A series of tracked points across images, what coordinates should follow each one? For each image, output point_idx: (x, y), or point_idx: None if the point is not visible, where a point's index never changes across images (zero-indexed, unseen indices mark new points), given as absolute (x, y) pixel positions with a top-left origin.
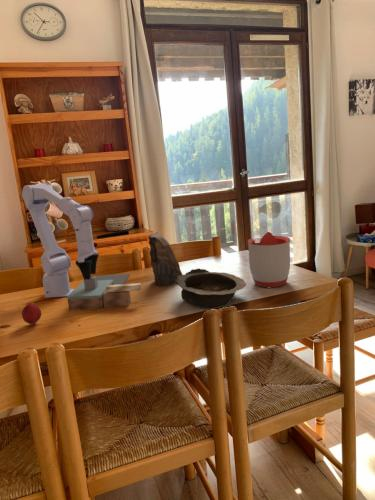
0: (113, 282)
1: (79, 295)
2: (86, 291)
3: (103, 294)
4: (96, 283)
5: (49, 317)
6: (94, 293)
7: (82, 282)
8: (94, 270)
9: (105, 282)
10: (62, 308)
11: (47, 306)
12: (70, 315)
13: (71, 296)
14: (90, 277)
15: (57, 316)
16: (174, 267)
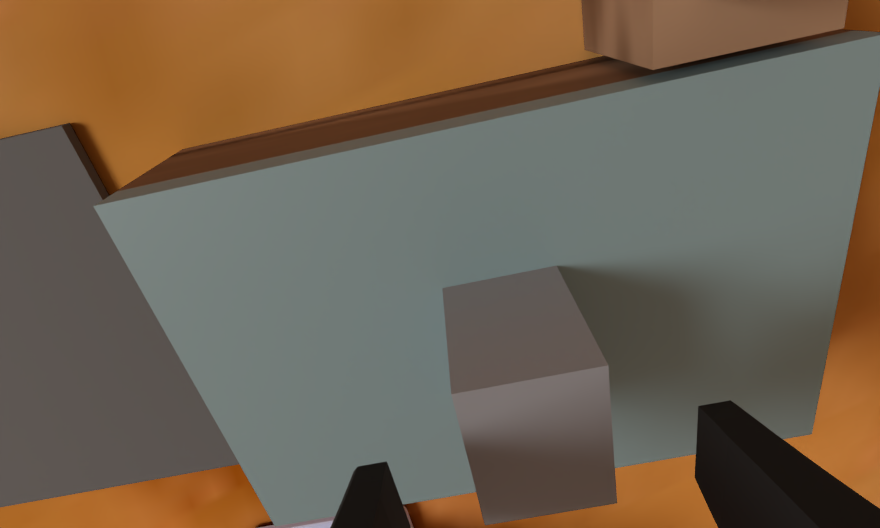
0: (132, 186)
1: (798, 338)
2: (657, 329)
3: (840, 11)
4: (501, 309)
5: (842, 405)
6: (769, 183)
7: (317, 516)
8: (382, 524)
9: (267, 260)
10: None
11: (605, 519)
12: (852, 274)
13: (804, 404)
14: (545, 446)
15: (840, 362)
16: None
